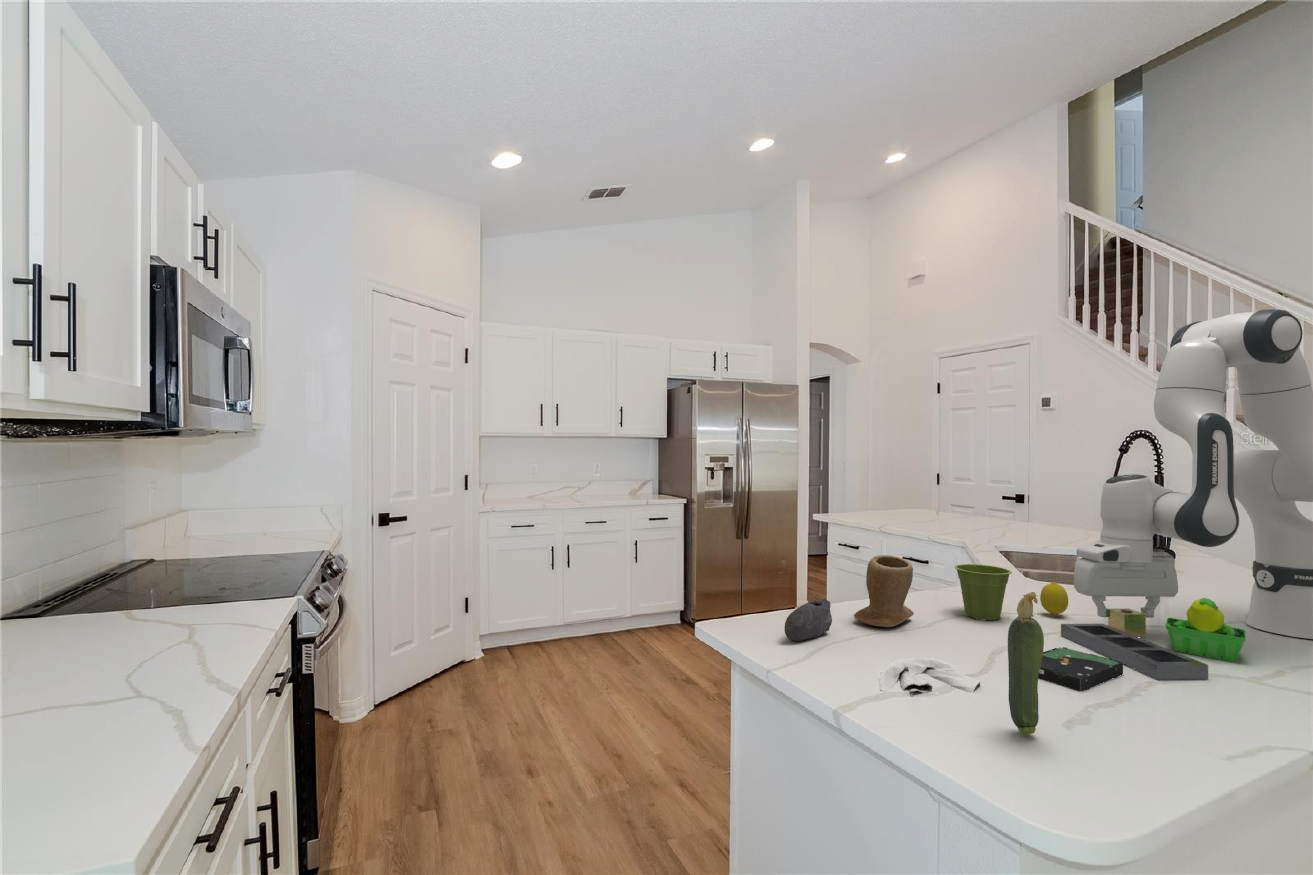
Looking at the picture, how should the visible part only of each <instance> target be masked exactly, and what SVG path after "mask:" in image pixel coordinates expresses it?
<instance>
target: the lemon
mask: <svg viewBox="0 0 1313 875" xmlns="http://www.w3.org/2000/svg"><path fill="white" fill-rule="evenodd" d="M1039 598H1040V605H1041V607H1042V608H1043V609H1044V611H1046V612H1048V613H1049V614H1051V616H1053V617H1057V616H1058V615H1060V614H1062V613H1064V612H1065V611H1066V610H1067V609H1068V606H1069V595H1068V593H1067V590H1066V589H1065V588H1064V587H1063V586H1062V585H1061V584H1059V583H1057V582H1056V581H1052V582H1051V583H1047V584H1045V585H1044V586H1043V587H1042V589H1041V592H1040V596H1039Z"/></svg>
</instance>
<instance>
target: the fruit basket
mask: <svg viewBox="0 0 1313 875" xmlns="http://www.w3.org/2000/svg"><path fill="white" fill-rule="evenodd" d="M1186 616H1187V618H1186V619H1187V620H1186V619H1180V618H1173V617H1167V619H1166V622H1165V623H1164V624H1165V628H1166V630H1167V632H1168V635H1169V640H1170V643H1171V646H1172V651H1174V650H1175V651H1174V652H1177V651H1180V652H1179V653H1183V652H1185V653H1184V654H1189V653H1190V654H1189V655H1195V656H1199V655H1200V656H1201V657H1206V658H1210V659H1215V660H1223V661H1227V662H1231V663H1237V662H1238V659H1239V657H1240V654H1241V650H1242V647H1243V645H1244V643H1245V641H1246V639H1247V637H1246V630H1245V629H1243V628H1237V627H1232V626H1231V625H1227V624H1225V615H1224V614H1223V612H1222V611H1221V610H1220V609H1219V606H1217V604H1216V602H1214V601H1213V600H1212V599H1211V598H1207V597H1202V598H1199V599H1196V600H1194V601H1193V602H1192V603H1191V605H1190V606H1189V607H1188V609H1187V610H1186ZM1200 656H1199V657H1200Z"/></svg>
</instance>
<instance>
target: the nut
mask: <svg viewBox="0 0 1313 875" xmlns="http://www.w3.org/2000/svg"><path fill="white" fill-rule="evenodd" d="M1109 609H1110V617H1107V625H1108V626H1110V627H1113V628H1115V629H1118V630H1121V631H1123V632H1126V633H1128V634H1131V635H1133V636H1136V637H1146V638H1147V620H1146V619H1147V618H1146V614H1143V613H1141V611H1137V610H1134V609H1131V608H1109Z"/></svg>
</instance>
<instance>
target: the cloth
mask: <svg viewBox="0 0 1313 875" xmlns="http://www.w3.org/2000/svg"><path fill="white" fill-rule="evenodd" d="M955 670H958V668H957V667H956V666H953V665H951V664H950V663H949V662H946V661H943V660H942V659H941V660H940V659H939V658H936V657H935V658H934V657H930V658H929V657H916V658H902V659H897V660H895V661H892V662H891V663H889V664H888V665H885V666H884V667H883V668H882V669H881V670H880V673H879V677H878V689H879V691H880V692H891V691H892V690H893V688H894V686H896V684H897V682H898V681H899V686H900V689H901V691H905V689H906V688H907V689H908V693H909V694H910V697H911V698H913V697H914V696H913V693H914V692H917V691H918V692H920V693H922V694H927V693H931V692H932V691H933V685H931V684H930V683H929V682H928V681H927V680H926V679H923V678H921V677H919V675H920V674H926V675H927V676H929V677H931V678H933V679H935V680H937V681H939V682H941V683H945V684H946V685H948V686H950V687H953V688H954V689H958V690H961V691H964V692H965V693H971V694H973V693H974V692H975V689H977V688H979V687H981V680H979V679H976V678H973V677H970V676H967V675H964V674H961V673H957V672H954V671H955ZM952 671H953V672H952Z"/></svg>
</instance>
